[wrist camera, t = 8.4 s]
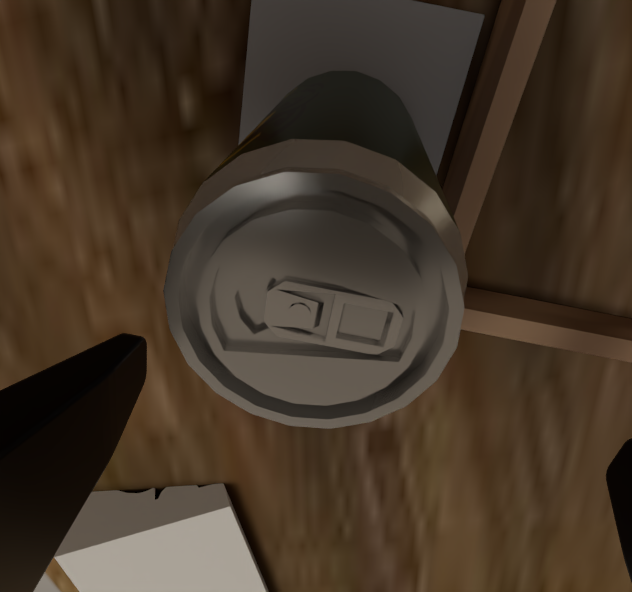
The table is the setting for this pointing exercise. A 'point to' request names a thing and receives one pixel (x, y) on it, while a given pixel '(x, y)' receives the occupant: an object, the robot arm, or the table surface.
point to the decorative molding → (160, 543)
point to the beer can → (320, 262)
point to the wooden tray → (475, 177)
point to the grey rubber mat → (362, 55)
